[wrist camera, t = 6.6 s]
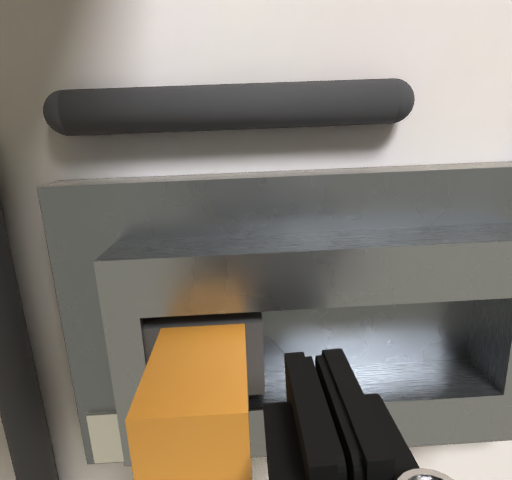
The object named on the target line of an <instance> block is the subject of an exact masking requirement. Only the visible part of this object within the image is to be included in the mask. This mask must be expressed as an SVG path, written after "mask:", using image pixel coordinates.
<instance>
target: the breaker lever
mask: <svg viewBox="0 0 512 480" xmlns="http://www.w3.org/2000/svg"><path fill="white" fill-rule="evenodd" d="M143 334H144V343H145V351H146V359H147V365H146V368H145V370H144V373H143V376H142V378H141V381H140V383H139V386H138V388H137V391H136V394H135V396H134V399H133V401H132V404H131V406H130V409H129V412H128V414H127V417H126V419H125V424H126V430H127V437H128V444H129V451H130V458H131V464H132V471H133V478H134V480H252V472H251V448H250V424H249V400H248V395H261V394H265V375H264V347H263V322H262V314H261V312H245V313H226V314H208V315H189V316H170V317H152V318H148V319H147V321H146V324H145V326H144V328H143Z"/></svg>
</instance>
